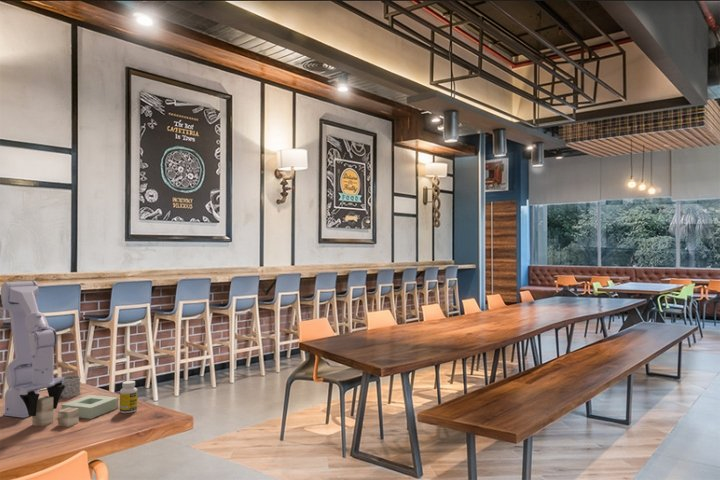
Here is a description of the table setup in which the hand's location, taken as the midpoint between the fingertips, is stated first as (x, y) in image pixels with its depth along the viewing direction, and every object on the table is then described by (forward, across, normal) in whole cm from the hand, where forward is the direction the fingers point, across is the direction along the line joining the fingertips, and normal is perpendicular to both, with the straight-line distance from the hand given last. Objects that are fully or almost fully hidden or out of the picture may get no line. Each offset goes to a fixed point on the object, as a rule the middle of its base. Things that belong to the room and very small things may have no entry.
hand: (43, 411), depth 167 cm
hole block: (+4, +14, -5) cm, 15 cm away
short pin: (+4, +2, -8) cm, 9 cm away
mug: (+4, +26, +18) cm, 32 cm away
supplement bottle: (+4, +18, -17) cm, 25 cm away
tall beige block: (+4, 0, 0) cm, 4 cm away
